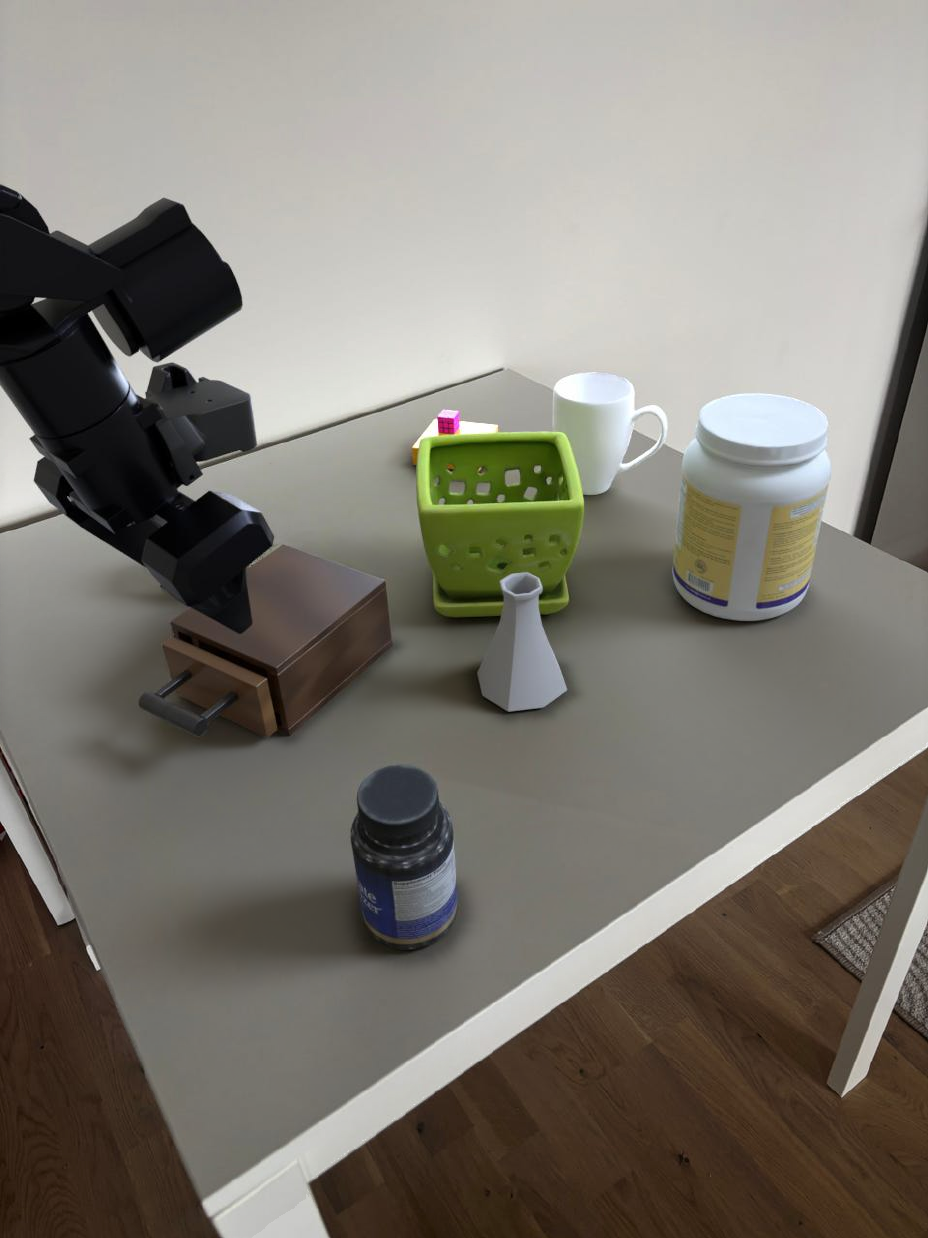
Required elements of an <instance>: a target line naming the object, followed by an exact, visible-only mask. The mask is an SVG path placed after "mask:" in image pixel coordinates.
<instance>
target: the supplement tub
mask: <svg viewBox="0 0 928 1238" xmlns="http://www.w3.org/2000/svg"><path fill="white" fill-rule="evenodd" d="M828 429H829V420H828V418H827V416H826V415H825V414H824V412H822V411H821V410H820V409H818V408H817V407H816V406H814V405H812V404H810V403H808V402H805V401H802V400H800V399H796V398H793V397H789V396H784V395H779V394H771V393H755V392H754V393H753V392H752V393H738V394H732V395H731V394H730V395H726V396H722V397H719V398H716V399H714V400H712V401H709V402H707V403H706V404H705V405H703V407H702V408H701V409H700V410H699V414H698V418H697V424H696V426H695V430H694V431H695V432H694V436H695V437H694V438H693V439H692V440H691V441H690V442H689V444H688V446H687V447H686V449H685V451H684V454H683V457H682V461H681V476H680V488H679V496H678V497H679V498H678V507H677V518H676V528H675V541H674V550H673V551H674V552H673V562H672V567H671V573H672V579H673V583H674V586H675V588H676V590H677V591H678V593H679V595H680V596H682V599H684V600H685V601H686V602H687V603H688V604H689V605H691V606H692V607H694V608H695V609H696V610H698V611H700V612H702V613H704V614H707V615H710V616H713V617H716V618H720V619H726V620H730V621H731V620H732V621H740V622H744V621H745V622H756V621H763V620H764V621H765V620H769V619H773V618H777V617H779V616H782V615H785V614H786V613H788V612H790V611H791V610H794V609H795V608H796V607H797V606H798V605H799V604H800V603H801V602H802V601H803V599H804V598H805V596H806V594H807V592H808V590H809V586H810V581H811V575H812V569H813V564H814V558H815V556H816V555H815V554H816V550H817V549H816V548H817V545H818V540H819V539H818V538H819V534H820V530H821V524H822V519H823V518H822V517H823V514H824V509H825V503H826V499H827V494H828V488H829V484H830V480H831V476H832V462H831V459H830V456H829V454H828V451H827V450H826V448H827V446H828V443H829V442H828V440H829V439H828V438H829V437H828Z"/></svg>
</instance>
